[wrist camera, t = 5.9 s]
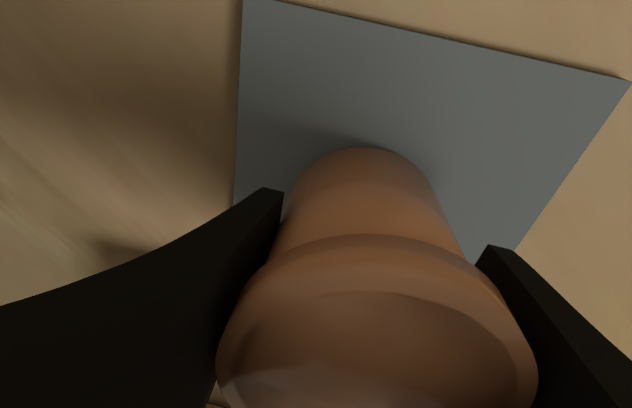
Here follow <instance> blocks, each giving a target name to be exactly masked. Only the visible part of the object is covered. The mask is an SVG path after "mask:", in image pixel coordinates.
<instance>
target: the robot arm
mask: <svg viewBox="0 0 632 408" xmlns="http://www.w3.org/2000/svg"><path fill="white" fill-rule="evenodd" d="M284 193H285V192H282V191H278V190H274V189H270V188H266V187H261V188H260V189H258V190H256V191H255V192H253V193H252V194H250V195H249V196H247V197H246V198H244V199H243V200H241V201H240V202H238V203H237V204H235V205H234V206H232V207H231V208H229V209H228V210H226V211H224V212H223V213H221V214H220V215H218V216H216V217H215V218H213V219H211V220H210V221H208V222H206V223H205V224H203V225H201V226H200V227H198V228H196V229H194V230H192V231H190V232H189V233H187V234H185V235H183V236H181V237H180V238H178V239H176V240H174V241H172V242H170V243H168V244H166V245H164V246H162V247H160V248H158V249H156V250H154V251H151V252H149V253H147V254H145V255H142V256H140V257H138V258H136V259H133V260H131V261H129V262H126V263H124V264H121V265H119V266H116V267H114V268H111V269H108V270H106V271H103V272H100V273H98V274H95V275H92V276H89V277H87V278H84V279H81V280H79V281H76V282H73V283H71V284H68V285H65V286H62V287H59V288H56V289H53V290H50V291H47V292H44V293H41V294H38V295H35V296H32V297H29V298H25V299H22V300H19V301H15V302H12V303H9V304H5V305H2V306H0V408H205V407H206V405H207V402H208V400H209V397H210V395H211V392H212V390H213V387H214V385H215V382H216V380H217V377H216V372H215V357H216V353H217V348H218V345H219V342H220V340H221V337H222V335H223V332H224V330H225V328H226V325H227V323H228V320H229V318H230V315H231V313H232V310H233V308H234V305H235V303H236V301H237V299H238V296H239V294H240V292H241V290H242V289H243V287H244V286H245V284H246V283H247V282H248V280H249V279H250V278H251V277H252V276H253V275H254V274H255V273H256V272H257V271H258V270H259V269H260V268H261V267H262V266H263V265H265V264H266V261H267V258H268V255H269V252H270V249H271V246H272V244H273V241H274V238H275V235H276V232H277V229H278V227H279V224H280V219H281V212H282V206H283V199H284ZM474 266H475V267H476V268H478V269H479V270H480V271H481V272H482V273H484V274H485V275H486V276H487V277H488V278H489V279H490V280H491V282H492V283H493V284H494V285H495V286H496V287H497V288H498V290H499V292H500V293H501V295H502V297H503V298H504V300H505V302H506V303H507V305H508V307H509V309H510V311H511V313H512V315H513V316H514V318H515V320H516V322H517V324H518V326H519V328H520V329H521V331H522V333H523V335H524V337H525V339H526V341H527V342H528V344H529V346H530V348H531V350H532V352H533V355H534V358H535V361H536V364H537V369H538V386H537V393H536V396H535V398H534V401H533V403H532V406H531V407H530V408H632V361H631V360H630V359H629V358H628V357H627V356H626V355H624V354H623V353H622V352H621V351H620V350H619V349H618V348H617V347H615V346H614V345H613V344H612V343H611V342H610V341H609V340H608V339H606V338H605V337H604V336H603V335H602V334H601V333H600V332H599V331H598V330H597V329H596V328H595V327H594V326H592V325H591V324H590V323H589V322H588V321H587V320H586V319H585V318H584V317H583V316H582V315H581V314H580V313H579V312H578V311H577V310H576V309H574V308H573V307H572V306H571V305H570V304H569V303H568V302H567V301H566V300H565V299H564V298H563V297H562V296H561V295H560V294H559V293H558V292H557V291H556V290H555V289H554V288H553V287H552V286H551V285H550V284H549V283H548V282H547V281H545V280H544V279H543V278H542V277H541V276H540V275H539V274H538V273H537V272H536V271H535V270H534V269H533V268H532V267H531V266H530V265H529V264H528V263H526V262H525V261H524V260H523V259H522V258H521V257H520V256H518V255H517V254H516V253H515V252H514V251H512V250H510V249H506V248H502V247H498V246H495V245H491V244H488V245H487V246H486V248H485V249H484V251H483V252H482V254H481V256H480V257H479V259H478V260H477V262H476V263H475V265H474Z"/></svg>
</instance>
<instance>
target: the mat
mask: <svg viewBox="0 0 632 408" xmlns="http://www.w3.org/2000/svg"><path fill="white" fill-rule="evenodd" d="M631 84H632V82H631V81H628V80H626V79H623V78H618V77H614V76H609V75H605V74H601V73H596V72H592V71H587V70H583V69H579V68H574V67H570V66H565V65H561V64H556V63H552V62H548V61H543V60H539V59H534V58H530V57H526V56H521V55H517V54H512V53H508V52H504V51H499V50H495V49H490V48H486V47H481V46H477V45H473V44H468V43H464V42H459V41H455V40H451V39H446V38H442V37H437V36H433V35H429V34H424V33H420V32H415V31H411V30H406V29H402V28H398V27H393V26H389V25H384V24H380V23H376V22H371V21H367V20H362V19H358V18H354V17H349V16H345V15H340V14H336V13H331V12H327V11H323V10H318V9H314V8H309V7H305V6H301V5H296V4H292V3H287V2H283V1H279V0H243V10H242V30H241V50H240V71H239V91H238V112H237V132H236V152H235V173H234V193H233V206H234V205H235V204H237V203H238V202H240V201H241V200H243V199H244V198H246V197H247V196H249V195H250V194H252V193H253V192H255V191H256V190H258V189H260V188H261V187H266V188H270V189H274V190H278V191H282V192H285V193H284V199H283V206H282V212H281V218H282V215H283V212H284V209H285V207H286V204H287V201H288V198H289V195H290V192H291V190H292V188H293V186H294V184H295V182H296V181H297V179H298V178H299V176H300V175H301V174H302V173H303V172H304V170H305V169H306V168H308V167H309V166H310V165H311V164H312V163H314V162H315V161H317V160H318V159H320V158H321V157H323V156H326V155H328V154H330V153H332V152H336V151H339V150H342V149H347V148H354V147H371V148H378V149H383V150H387V151H390V152H393V153H396V154H398V155H400V156H402V157H404V158H406V159H407V160H409V161H410V162H412V163H413V164H414V165H415V166H416V167H418V168H419V169H420V170H421V171H422V173H423V174H424V175H425V176H426V177H427V179H428V181H429V182H430V184H431V186H432V188H433V190H434V192H435V194H436V196H437V199H438V201H439V203H440V205H441V207H442V209H443V211H444V213H445V216H446V218H447V220H448V222H449V224H450V226H451V228H452V231H453V233H454V235H455V237H456V239H457V241H458V243H459V245H460V248H461V250H462V252H463V254H464V256H465V258H466V260H467V261H468V262H469V263H471V264H473V265H475V263H476V262H477V260H478V259H479V257H480V256H481V254H482V252H483V251H484V249H485V248H486V246H487V245H488V244H491V245H495V246H498V247H502V248H506V249H510V250H512V251H514V250H515V249H516V247H517V246H518V245H519V243H520V242H521V240H522V239H523V237H524V236H525V235H526V233H527V232H528V230H529V229H530V227H531V226H532V225H533V223H534V222H535V220H536V219H537V218H538V216H539V215H540V213H541V212H542V210H543V209H544V208H545V206H546V205H547V203H548V202H549V201H550V199H551V198H552V196H553V195H554V193H555V192H556V191H557V189H558V188H559V186H560V185H561V183H562V182H563V181H564V179H565V178H566V176H567V175H568V174H569V172H570V171H571V169H572V168H573V166H574V165H575V164H576V162H577V161H578V159H579V158H580V157H581V155H582V154H583V152H584V151H585V149H586V148H587V147H588V145H589V144H590V142H591V141H592V140H593V138H594V137H595V135H596V134H597V132H598V131H599V130H600V128H601V127H602V125H603V124H604V122H605V121H606V120H607V118H608V117H609V115H610V114H611V113H612V111H613V110H614V108H615V107H616V105H617V104H618V103H619V101H620V100H621V98H622V97H623V96H624V94H625V93H626V91H627V90H628V88H629V87H630V86H631ZM280 221H281V219H280Z"/></svg>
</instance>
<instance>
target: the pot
mask: <svg viewBox="0 0 632 408" xmlns="http://www.w3.org/2000/svg"><path fill="white" fill-rule="evenodd" d="M215 372H216V377H217V382H218V385H219V387H220V390H221V392H222V394H223V396H224V398H225V399H226V401H227V402H228V404H229V405H230V407H231V408H530V407H531V406H532V403H533V401H534V398H535V396H536V393H537V386H538V369H537V364H536V361H535V358H534V355H533V352H532V350H531V348H530V346H529V344H528V342H527V341H526V339H525V337H524V335H523V333H522V331H521V329H520V328H519V326H518V324H517V322H516V320H515V318H514V316H513V315H512V313H511V311H510V309H509V307H508V305H507V303H506V302H505V300H504V298H503V297H502V295H501V293H500V292H499V290H498V288H497V287H496V286H495V285H494V284H493V283H492V282H491V280H490V279H489V278H488V277H487V276H486V275H485V274H484V273H482V272H481V271H480V270H479V269H478V268H476V267H475V266H474V265H473V264H471V263H469V262H468V261H467V260H466V258H465V256H464V254H463V252H462V250H461V248H460V245H459V243H458V241H457V239H456V237H455V235H454V233H453V231H452V228H451V226H450V224H449V222H448V220H447V218H446V216H445V213H444V211H443V209H442V207H441V205H440V203H439V201H438V199H437V196H436V194H435V192H434V190H433V188H432V186H431V184H430V182H429V181H428V179H427V177H426V176H425V175H424V174H423V173H422V171H421V170H420V169H419V168H418V167H416V166H415V165H414V164H413V163H412V162H410V161H409V160H407V159H406V158H404V157H402V156H400V155H398V154H396V153H393V152H390V151H387V150H383V149H378V148H371V147H354V148H347V149H342V150H339V151H336V152H332V153H330V154H328V155H326V156H323V157H321V158H320V159H318V160H317V161H315V162H314V163H312V164H311V165H310V166H309V167H308V168H306V169H305V170H304V172H303V173H302V174H301V175H300V176H299V178H298V179H297V181H296V182H295V184H294V186H293V188H292V190H291V192H290V195H289V198H288V201H287V204H286V207H285V209H284V212H283V215H282V218H281V221H280V224H279V227H278V229H277V232H276V235H275V238H274V241H273V244H272V246H271V249H270V252H269V255H268V258H267V261H266V264H265V265H263V266H262V267H261V268H260V269H259V270H258V271H257V272H256V273H255V274H254V275H253V276H252V277H251V278H250V279H249V280H248V282H247V283H246V284H245V286H244V287H243V289H242V290H241V292H240V294H239V296H238V299H237V301H236V303H235V305H234V308H233V310H232V313H231V315H230V318H229V320H228V323H227V325H226V328H225V330H224V332H223V335H222V337H221V340H220V342H219V345H218V348H217V353H216V357H215Z"/></svg>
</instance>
